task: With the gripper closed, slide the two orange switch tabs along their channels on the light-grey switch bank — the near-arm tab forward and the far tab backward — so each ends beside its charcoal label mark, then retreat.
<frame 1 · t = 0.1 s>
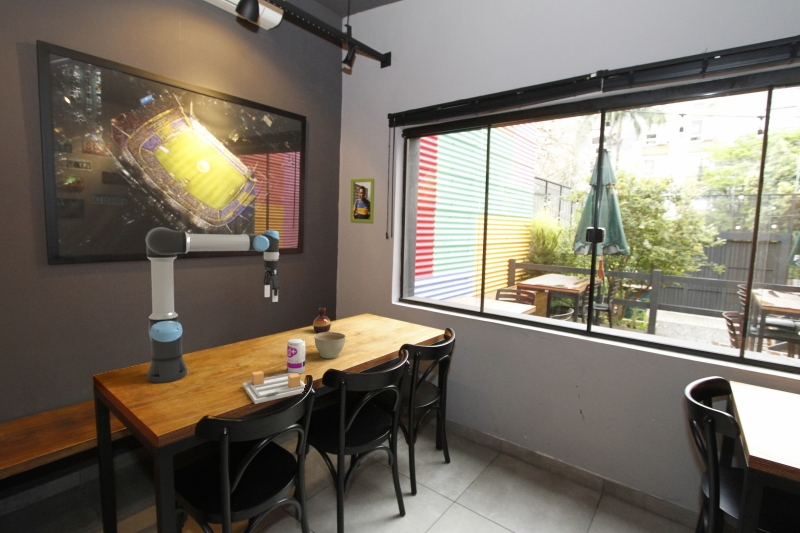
hand: (271, 299, 206), 28 cm above the table, fingers open, 13 cm apart
vase: (321, 331, 248), on the table
tab b: (294, 381, 161), point 4 cm above the table, slide at 0.0 cm
supplement can: (295, 372, 181), on the table
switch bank: (275, 389, 162), on the table
planter bowl: (329, 356, 204), on the table
tab a: (257, 378, 162), point 4 cm above the table, slide at 0.0 cm
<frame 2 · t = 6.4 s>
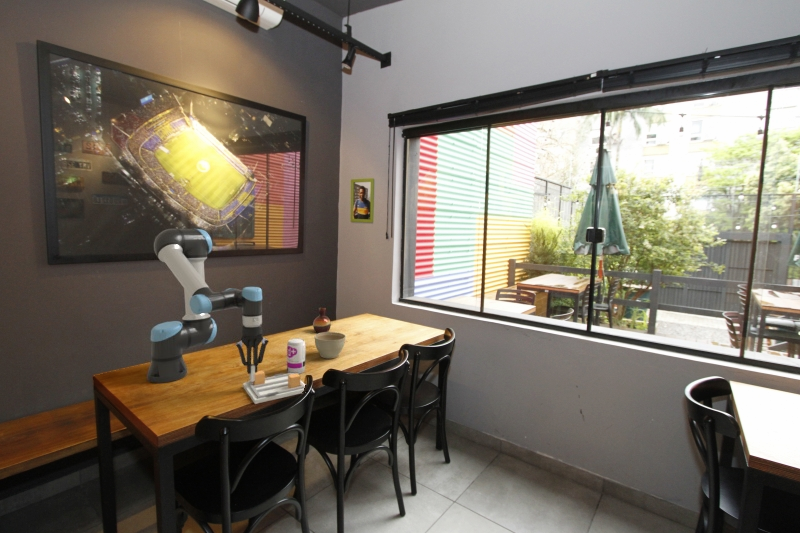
hand: (252, 380, 160), 4 cm above the table, fingers closed
tab a: (258, 378, 162), point 4 cm above the table, slide at 0.4 cm, touching gripper
everything else where it was.
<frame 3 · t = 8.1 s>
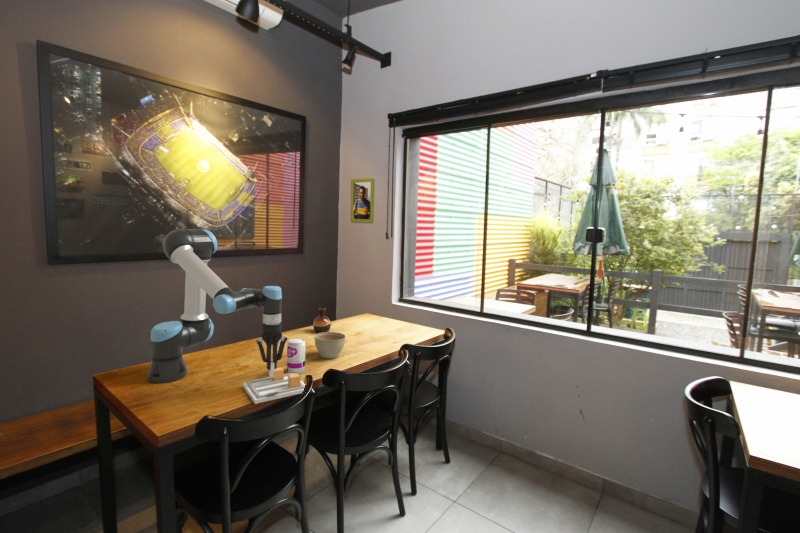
hand: (271, 376, 165), 4 cm above the table, fingers closed
tab a: (277, 374, 167), point 4 cm above the table, slide at 8.5 cm, touching gripper
everything else where it was.
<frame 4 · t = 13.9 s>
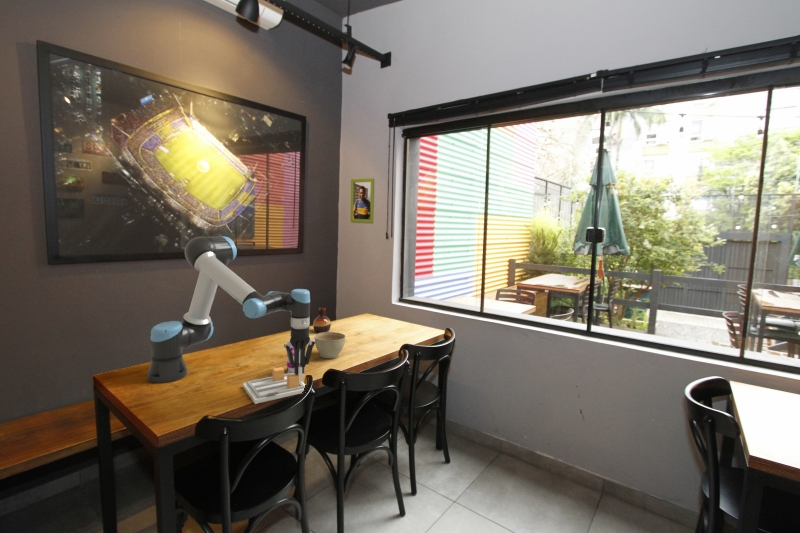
hand: (299, 381, 162), 4 cm above the table, fingers closed
tab b: (293, 381, 160), point 4 cm above the table, slide at 0.5 cm, touching gripper
tab a: (278, 374, 167), point 4 cm above the table, slide at 8.7 cm
everything else where it was.
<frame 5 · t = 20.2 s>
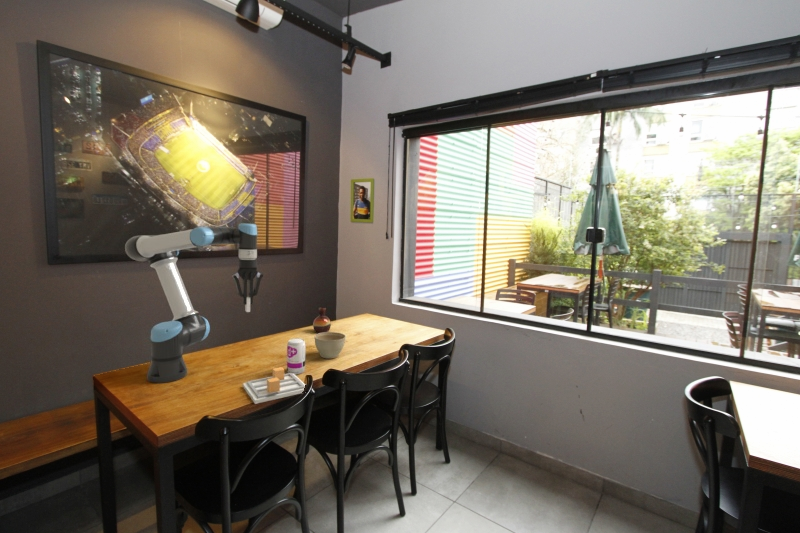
hand: (247, 311, 172), 29 cm above the table, fingers closed
tab b: (273, 385, 156), point 4 cm above the table, slide at 8.7 cm
everything else where it was.
at the end: tab a slide at 8.7 cm; tab b slide at 8.7 cm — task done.
